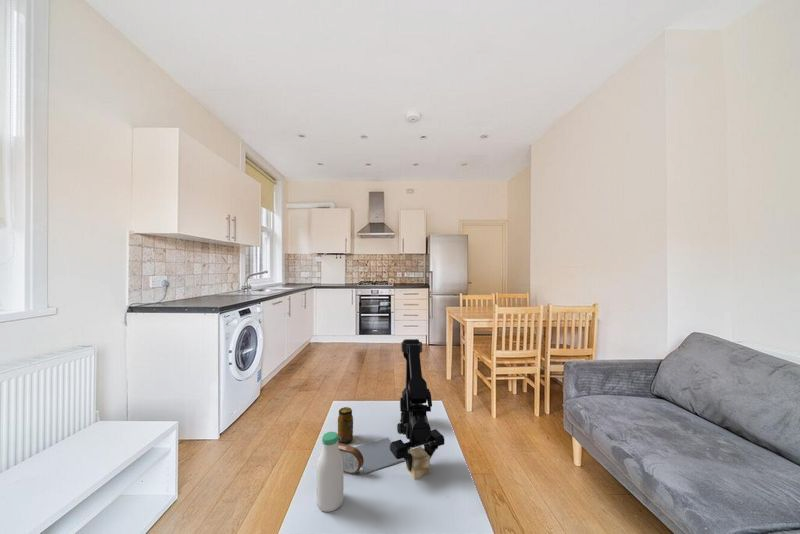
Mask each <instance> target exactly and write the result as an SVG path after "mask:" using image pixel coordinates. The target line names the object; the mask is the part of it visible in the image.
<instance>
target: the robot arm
mask: <svg viewBox="0 0 800 534" xmlns="http://www.w3.org/2000/svg"><path fill="white" fill-rule="evenodd" d="M400 345H401V347H400V348H401V349H400V351H401V353H402V355H403V359H405V361H406V362H405V387H404V389H403V390H402V392H401V397H400V398H399V408H400V409H399V411H400V412H401V413H400V420H399V422H398V423H397V425H396V430H397V433H398V434H399V435H404V436H405V438H406V439H407V440H409V441H407V442H404V441H403V440H402V439H397V440H394V441H391V444H390V451H391V452H392V453H393V455H394V456H395V457H396V459H401V458H404V459H405V461H404V462H405V465H406V464H407V467H408V470H409V471H411V468H412V455H411V453H410V450H411V449H414V448H417V447H420V446H421V447H422V446H423V449H424V450H425V451H426V452H427V453H428V455H429V456H430V459H431V458H432V456H433V455H434V453H435V452H436V450H437V449H438V448H439V447H441V446H444V445H445V436H444V434H442V433H441V432H440V431H439V430H437V429H436V428H434V429H431V425H430V422H429V421H430V420H429V418H428V415H427V413H428V412H432V407H433V402H432V401H433V400H432V394H431V391H430V388H428V384H427V380H425V379H424V377H423V371H422V364H421V354H422V353H423V342H422V341H420V340H419V338H413V339H412V338H409V339H406V338H405V339H403V340H402V341H401V344H400ZM426 403H427V404H426ZM408 470H407V471H408Z"/></svg>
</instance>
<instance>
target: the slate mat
mask: <svg viewBox="0 0 800 534" xmlns="http://www.w3.org/2000/svg"><path fill="white" fill-rule="evenodd" d="M391 442H392V441H391V440H390V438H389V437H385V438H382V439H378V440H374V441H371V442H368V443H365V444H362V445H358V446H354V447H355V448H357V449H358V450H359V451H360V452H361V453H362V455H363V459H364V463H363V466H362V467H361V468H362V470H363V471H364V473H365V474H367V475H368V474H370V473H372V472H375V471H378V470H381V469H385V468H388V467H390V466H394V465H396V464H400V463H403V462H406V461H405V459H404V458H401V459H396V457H395V456H394V455H393V453H392V452H391V451H390V444H391Z"/></svg>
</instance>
